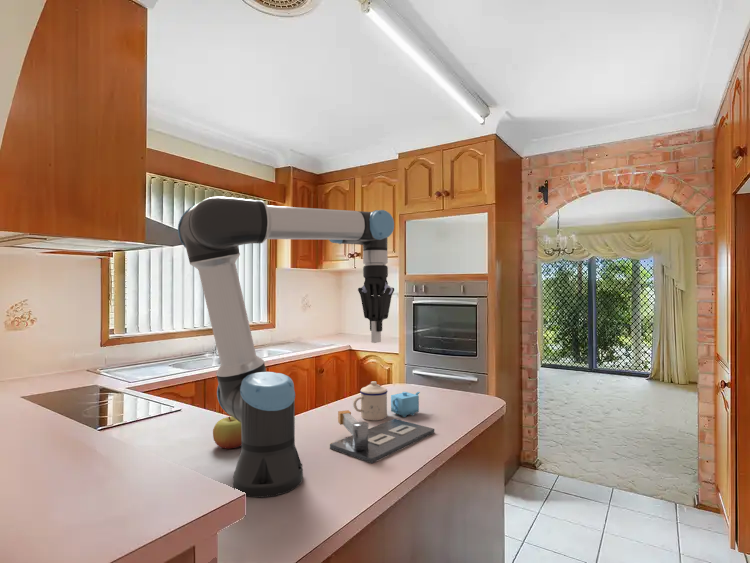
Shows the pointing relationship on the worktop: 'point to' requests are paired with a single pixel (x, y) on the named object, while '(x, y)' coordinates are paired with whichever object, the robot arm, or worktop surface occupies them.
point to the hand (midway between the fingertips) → (376, 342)
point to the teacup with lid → (373, 402)
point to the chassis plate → (384, 440)
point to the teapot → (405, 403)
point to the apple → (227, 433)
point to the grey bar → (355, 429)
